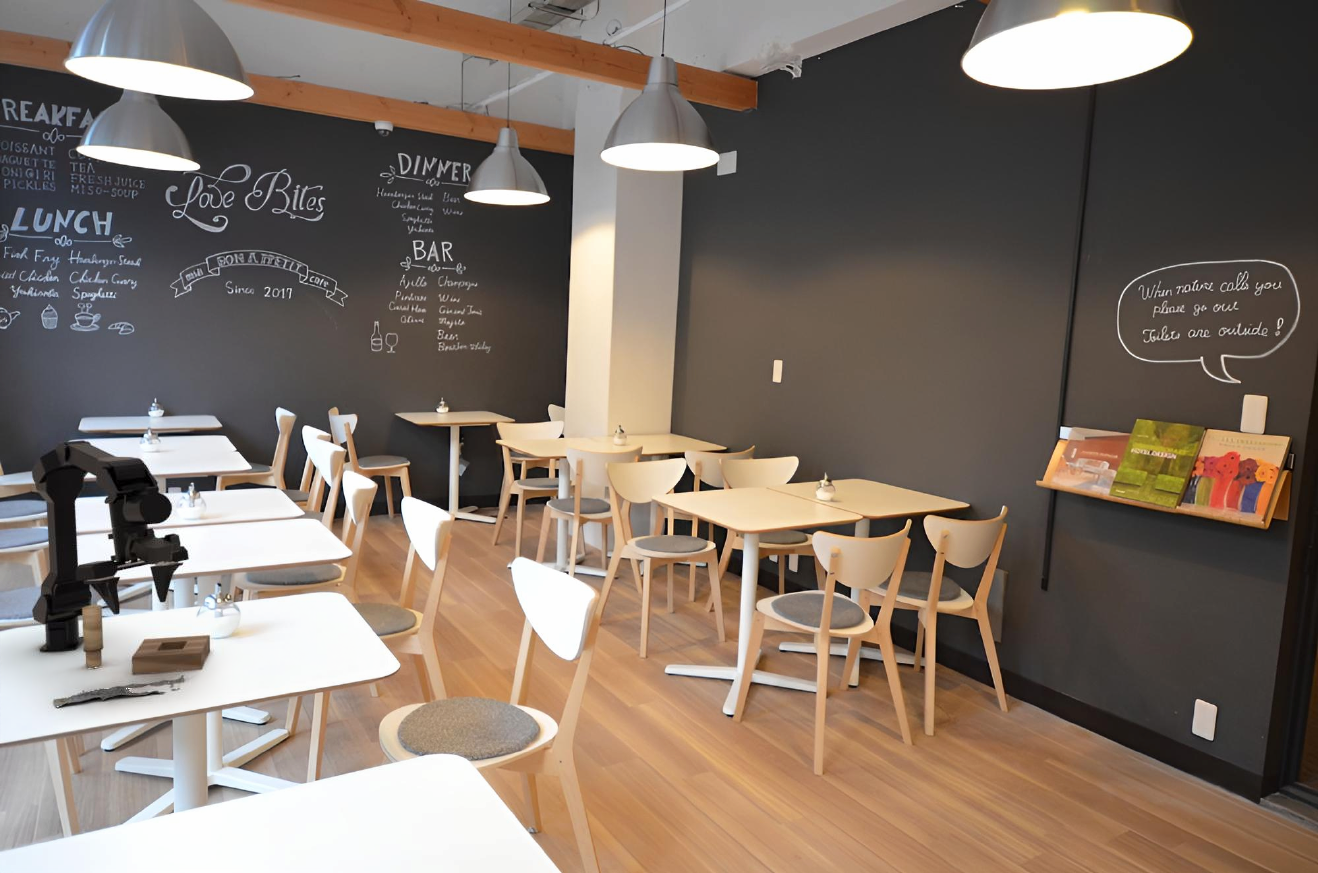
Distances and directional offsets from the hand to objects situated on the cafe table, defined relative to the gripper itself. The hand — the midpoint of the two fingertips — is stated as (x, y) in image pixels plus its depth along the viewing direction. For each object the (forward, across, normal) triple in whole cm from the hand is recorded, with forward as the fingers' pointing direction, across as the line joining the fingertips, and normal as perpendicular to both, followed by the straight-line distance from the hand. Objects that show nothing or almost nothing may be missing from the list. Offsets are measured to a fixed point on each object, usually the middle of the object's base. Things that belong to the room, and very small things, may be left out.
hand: (140, 608), depth 161 cm
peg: (+12, +2, +18) cm, 22 cm away
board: (+14, +10, +7) cm, 18 cm away
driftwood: (+16, -4, +3) cm, 16 cm away
